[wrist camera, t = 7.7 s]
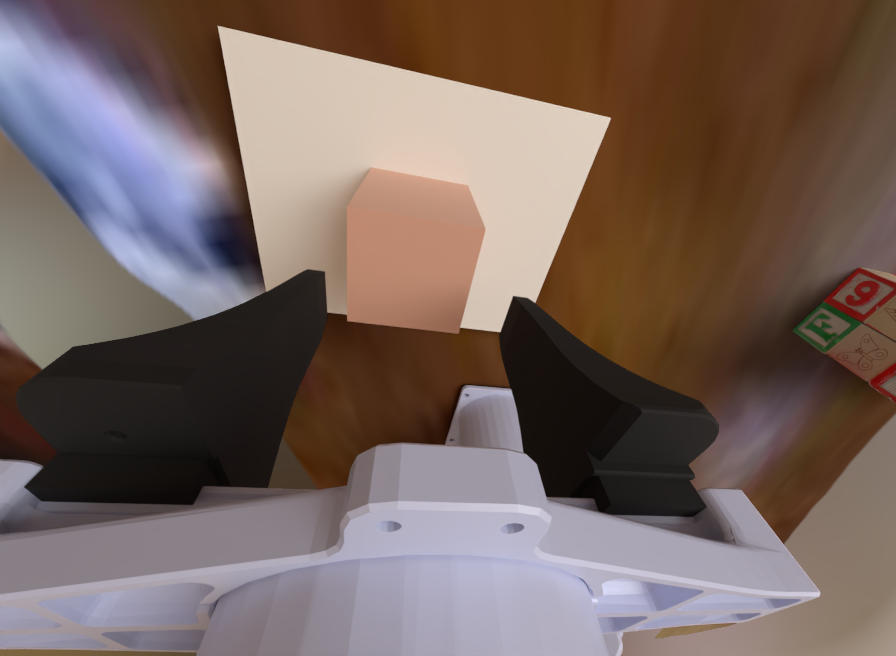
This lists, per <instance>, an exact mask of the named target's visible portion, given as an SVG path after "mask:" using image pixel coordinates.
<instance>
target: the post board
mask: <svg viewBox="0 0 896 656" xmlns="http://www.w3.org/2000/svg"><path fill="white" fill-rule="evenodd" d="M218 29H219V35H220V40H221V46H222V51H223V57H224V62H225V68H226V74H227V79H228V85H229V90H230V96H231V101H232V107H233V112H234V118H235V123H236V129H237V134H238V140H239V145H240V151H241V156H242V162H243V167H244V173H245V178H246V184H247V189H248V195H249V200H250V206H251V211H252V217H253V222H254V228H255V233H256V239H257V244H258V250H259V255H260V261H261V266H262V272H263V277H264V283H265V288H266V292H267V291H269V290H271V289H273V288H274V287H276V286H278V285H280V284H282V283H283V282H285V281H287V280H289V279H290V278H292V277H294V276H295V275H297V274H299V273H301V272H303V271H305V270H307V269H311V270H318V271H325V280H326V298H327V312H328V313H337V314H346V315H347V205H348V203H349V202H350V200H351V199H352V197H353V195H354V194H355V192H356V191H357V189H358V188H359V186H360V185H361V183H362V181H363V180H364V178H365V177H366V175H367V174H368V172H369V170H370V169H371V167H373V168H378V169H383V170H389V171H394V172H399V173H405V174H410V175H415V176H421V177H426V178H431V179H437V180H442V181H447V182H453V183H458V184H464V185H468V187H469V189H470V191H471V194H472V196H473V199H474V201H475V204H476V206H477V209H478V211H479V214H480V216H481V218H482V221H483V223H484V226H485V228H486V230H485V234H484V238H483V242H482V246H481V249H480V253H479V257H478V261H477V265H476V268H475V272H474V276H473V280H472V284H471V288H470V291H469V295H468V299H467V303H466V307H465V311H464V314H463V318H462V322H461V326H460V328H469V329H477V330H486V331H495V332H501V329H502V326H503V323H504V320H505V318H506V315H507V312H508V309H509V306H510V303H511V301H512V298H513V296H518V297H525V298H529V299H530V300H532V301H533V302H534V303H535V302H536V299H537V297H538V294H539V292H540V290H541V287H542V285H543V282H544V280H545V277H546V275H547V273H548V270H549V268H550V265H551V263H552V260H553V258H554V256H555V253H556V251H557V248H558V246H559V243H560V241H561V238H562V236H563V234H564V231H565V229H566V226H567V224H568V221H569V219H570V217H571V214H572V212H573V209H574V207H575V204H576V202H577V200H578V197H579V195H580V192H581V190H582V187H583V185H584V183H585V180H586V178H587V175H588V173H589V170H590V168H591V166H592V163H593V161H594V158H595V156H596V153H597V151H598V148H599V146H600V144H601V141H602V139H603V136H604V134H605V131H606V129H607V127H608V124H609V122H610V119H611V118H609V117H605V116H600V115H596V114H592V113H588V112H583V111H579V110H575V109H571V108H566V107H562V106H558V105H553V104H549V103H545V102H541V101H536V100H532V99H528V98H524V97H519V96H515V95H511V94H506V93H502V92H498V91H494V90H489V89H485V88H481V87H477V86H472V85H468V84H464V83H459V82H455V81H451V80H447V79H442V78H438V77H434V76H430V75H425V74H421V73H417V72H413V71H408V70H404V69H400V68H395V67H391V66H387V65H383V64H378V63H374V62H370V61H366V60H361V59H357V58H353V57H348V56H344V55H340V54H336V53H331V52H327V51H323V50H319V49H314V48H310V47H306V46H301V45H297V44H293V43H289V42H284V41H280V40H276V39H272V38H267V37H263V36H259V35H254V34H250V33H246V32H242V31H237V30H233V29H229V28H225V27H220V26H218Z"/></svg>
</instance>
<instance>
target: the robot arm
mask: <svg viewBox="0 0 896 656" xmlns="http://www.w3.org/2000/svg"><path fill="white" fill-rule="evenodd" d="M327 317H328V316H327V298H326V280H325V271H318V270H311V269H307V270H305V271H303V272H301V273H299V274H297V275H295V276H294V277H292V278H290V279H289V280H287V281H285V282H283V283H282V284H280V285H278V286H276V287H274V288H273V289H271V290H269V291H267V292H265V293H263V294H261V295H259V296H257V297H255V298H253V299H251V300H249V301H247V302H245V303H243V304H240V305H238V306H236V307H233V308H231V309H228V310H226V311H223V312H221V313H218V314H215V315H212V316H210V317H206V318H203V319H200V320H197V321H193V322H191V323H187V324H184V325H180V326H177V327H173V328H169V329H165V330H161V331H157V332H152V333H148V334H143V335H139V336H134V337H129V338H124V339H118V340H112V341H106V342H100V343H94V344H89V345H82V346H76V347H72V348H71V349H70V350H68V351H67V352H66V353H64V354H63V355H62V356H60V357H59V358H58V359H56V360H55V361H54V362H52V363H51V364H50V365H48V366H47V367H46V368H44V369H43V370H42V371H40V372H39V373H38V374H36V375H35V376H34V377H32V378H31V379H30V380H28V381H27V382H26V383H24V384H23V385H22V386H20V387H19V390H18V392H17V394H16V401H17V406H18V409H19V411H20V412H21V414H22V415H23V416H24V418H25V419H26V420H27V421H28V422H29V423H30V424H31V425H32V426H33V428H34V429H35V430H36V431H37V432H38V433H39V434H40V435H41V436H42V437H43V438H44V439H45V440H46V441H47V442H48V443H49V444H50V445H51V446H52V447H53V448H54V449H55V450H56V451H57V452H58V453H57V454H56V455H55V456H54V457H53V458H52V459H51V460H50V461H49V462H48V463H47V464H46V465H45V466H42V465H39V464H36V463H33V462H29V461H22V460H0V649H63V650H65V649H66V650H113V651H116V650H117V651H159V652H197V654H196V656H621V654H622V651H623V644H622V640H621V639H622V636H623V632H628V631H638V630H648V629H657V628H668V627H678V626H689V625H703V624H718V623H739V622H746V621H749V620H752V619H755V618H758V617H761V616H764V615H767V614H770V613H773V612H776V611H779V610H782V609H785V608H788V607H791V606H794V605H797V604H800V603H803V602H806V601H809V600H812V599H815V598H818V597H819V596H820V591H819V590H818V589H817V587H816V586H815V585H814V584H813V582H812V581H811V579H810V578H809V577H808V576H807V574H806V573H805V572H804V570H803V569H802V568H801V567H800V565H799V564H798V563H797V561H796V560H795V559H794V558H793V556H792V555H791V554H790V552H789V551H788V550H787V548H786V547H785V546H784V545H783V543H782V542H781V541H780V539H779V538H778V537H777V536H776V534H775V533H774V532H773V530H772V529H771V528H770V526H769V525H768V524H767V523H766V521H765V520H764V519H763V517H762V516H761V515H760V514H759V512H758V511H757V510H756V508H755V507H754V506H753V504H752V503H751V502H750V501H749V499H748V498H747V497H746V495H745V494H744V493H743V492H742V490H739V489H729V488H703V489H700V490H697V491H696V490H695V488H694V487H693V485H692V484H691V482H690V481H689V480H693V479H694V478H695V474H694V473H693V471H692V470H691V468H690V467H689V466H688V464H690V463H691V462H692V461H693V460H694V459H695V458H697V457H698V456H699V455H700V454H701V453H702V452H704V451H705V450H706V449H707V448H708V447H709V446H710V445H711V444H712V443H713V442H714V441H715V439H716V437H717V435H718V432H719V424H718V423H717V421H716V419H715V418H714V417H713V416H712V415H711V414H710V412H709V411H708V410H707V409H706V408H705V407H704V405H703V404H702V403H701V402H700V401H698V400H695V399H693V398H690V397H688V396H685V395H683V394H680V393H677V392H675V391H672V390H670V389H667V388H665V387H662V386H660V385H658V384H656V383H653V382H651V381H649V380H647V379H645V378H642V377H640V376H638V375H636V374H634V373H632V372H630V371H629V370H627V369H625V368H623V367H621V366H619V365H618V364H616V363H614V362H612V361H610V360H609V359H607V358H605V357H604V356H602V355H601V354H599V353H598V352H596V351H595V350H593V349H591V348H590V347H588V346H587V345H586V344H584V343H583V342H581V341H580V340H579V339H578V338H576V337H575V336H574V335H572V334H571V333H570V332H568V331H567V330H566V329H565V328H564V327H562V326H561V325H560V324H559V323H558V322H556V321H555V320H554V319H553V318H552V317H551V316H549V315H548V314H547V313H546V312H545V311H544V310H543V309H541V308H540V307H539V306H538V305H537V304H535V303H534V302H533V301H532V300H530V299H529V298H525V297H518V296H513V298H512V301H511V303H510V306H509V309H508V312H507V315H506V318H505V320H504V323H503V326H502V329H501V332H500V335H499V340H500V348H501V355H502V359H503V363H504V367H505V370H506V374H507V377H508V381H509V384H510V387H511V389H507V388H495V387H484V386H472V385H466V386H464V387H462V390H461V393H460V396H459V399H458V403H457V406H456V409H455V412H454V416H453V419H452V422H451V426H450V429H449V432H448V435H447V439H446V442H445V445H438V444H419V443H391V444H381V445H377V446H375V447H373V448H371V449H369V450H367V451H365V452H363V453H361V454H359V455H358V456H357V457H356V459H355V461H354V463H353V465H352V467H351V469H350V474H349V479H348V484H347V486H342V487H335V488H328V489H321V490H308V489H277V488H268V485H269V481H270V478H271V474H272V470H273V466H274V463H275V460H276V456H277V453H278V449H279V445H280V442H281V439H282V436H283V432H284V429H285V426H286V423H287V419H288V416H289V413H290V410H291V407H292V404H293V401H294V398H295V395H296V393H297V390H298V388H299V386H300V383H301V381H302V379H303V377H304V375H305V373H306V370H307V368H308V366H309V364H310V362H311V360H312V358H313V356H314V353H315V351H316V349H317V347H318V345H319V343H320V340H321V338H322V335H323V331H324V328H325V324H326V321H327Z"/></svg>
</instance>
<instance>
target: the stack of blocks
mask: <svg viewBox="0 0 896 656" xmlns="http://www.w3.org/2000/svg"><path fill="white" fill-rule="evenodd" d="M792 331H793V332H794V333H796V334H797V335H799V336H800V337H801V338H803V339H804V340H805V341H807V342H808V343H809V344H811V345H812V346H814V347H815V348H816V349H818V350H819V351H820V352H822V353H824V354H827V355H829V356H830V357H832V358H833V359H834V360H836V361H837V362H839V363H840V364H841V365H843V366H844V367H846V368H847V369H848V370H850V371H851V372H853V373H854V374H856V375H857V376H859V377H860V378H862V379H863V380H865V381H867V382H868V383H869V385H870V386H871V387H872V388H874V389H875V390H877V391H878V392H879V393H881V394H882V395H884V396H885V397H887V398H888V399H889V400H891V401H892V402H894V403H895V404H896V275H893V274H889V273H885V272H881V271H876V270H872V269H867V268H863V267H860V268H858V269H857V270H856V271H855V272H854V273H853V274H852V275H851V276H849V277H848V278H847V279H846V280H845V281H844V282H843V283H842V284H841V285H840V286H839V287H838V288H837V289H836V290H835V291H833V292H832V293H831V294H830V295H829V296H828V297H827V298H826V299H825V300H824V301H823V302H822V303H821V304H820V305H819V306H818V307H817V308H816V309H815V310H814V311H813V312H812V313H810V314H809V315H808V316H807V317H806V318H805V319H804V320H803V321H802V322H801V323H800V324H799V325H798V326H796V327H795V328H794V329H793V330H792Z"/></svg>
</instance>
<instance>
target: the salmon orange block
mask: <svg viewBox="0 0 896 656" xmlns="http://www.w3.org/2000/svg"><path fill="white" fill-rule="evenodd" d="M485 230H486V228H485V226H484V223H483V221H482V218H481V216H480V214H479V211H478V209H477V206H476V204H475V201H474V199H473V196H472V194H471V191H470V189H469V187H468V185H464V184H458V183H453V182H447V181H442V180H437V179H431V178H426V177H421V176H415V175H410V174H405V173H399V172H394V171H389V170H383V169H378V168H373V167H371V169H370V170H369V172H368V174H367V175H366V177H365V178H364V180H363V181H362V183H361V185H360V186H359V188H358V189H357V191H356V192H355V194H354V195H353V197H352V199H351V200H350V202H349V203H348V205H347V321H351V322H360V323H369V324H378V325H387V326H396V327H404V328H413V329H422V330H431V331H440V332H449V333H457V334H458V333H459V330H460V326H461V322H462V318H463V314H464V311H465V307H466V303H467V299H468V295H469V291H470V288H471V284H472V280H473V276H474V272H475V268H476V265H477V261H478V257H479V253H480V249H481V246H482V242H483V238H484V234H485Z"/></svg>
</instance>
